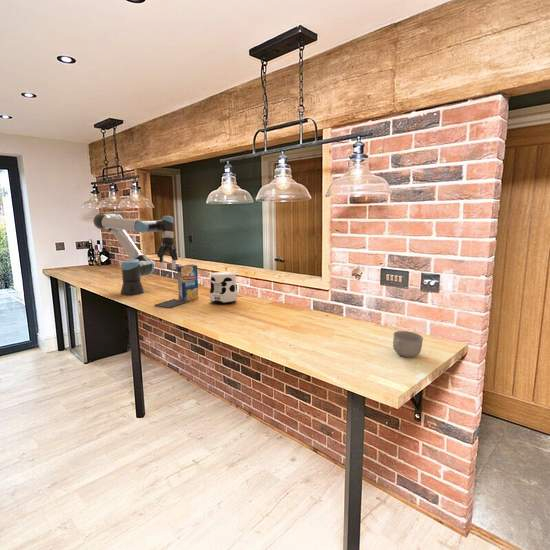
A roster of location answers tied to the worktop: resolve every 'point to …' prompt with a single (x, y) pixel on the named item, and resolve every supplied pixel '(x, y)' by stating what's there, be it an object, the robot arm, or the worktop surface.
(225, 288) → the milk container
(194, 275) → the beverage box
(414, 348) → the teacup
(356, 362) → the worktop surface
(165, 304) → the bar mat
